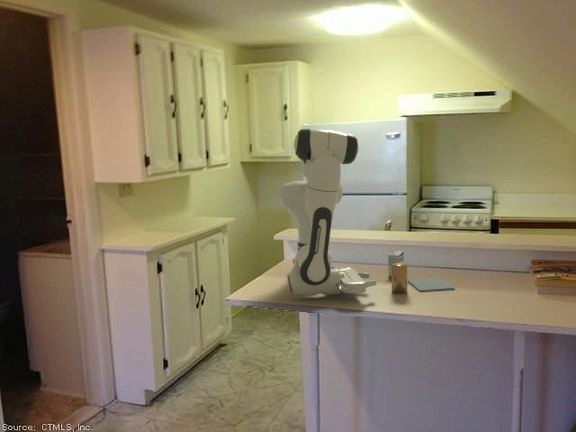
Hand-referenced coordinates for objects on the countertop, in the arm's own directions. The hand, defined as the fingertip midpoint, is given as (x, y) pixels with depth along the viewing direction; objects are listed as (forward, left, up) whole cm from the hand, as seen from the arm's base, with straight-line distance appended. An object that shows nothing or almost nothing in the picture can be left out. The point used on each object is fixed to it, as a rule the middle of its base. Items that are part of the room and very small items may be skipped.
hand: (372, 278), depth 186 cm
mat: (-5, +24, -6) cm, 25 cm away
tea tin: (0, +10, -6) cm, 11 cm away
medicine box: (-23, +16, -6) cm, 29 cm away
